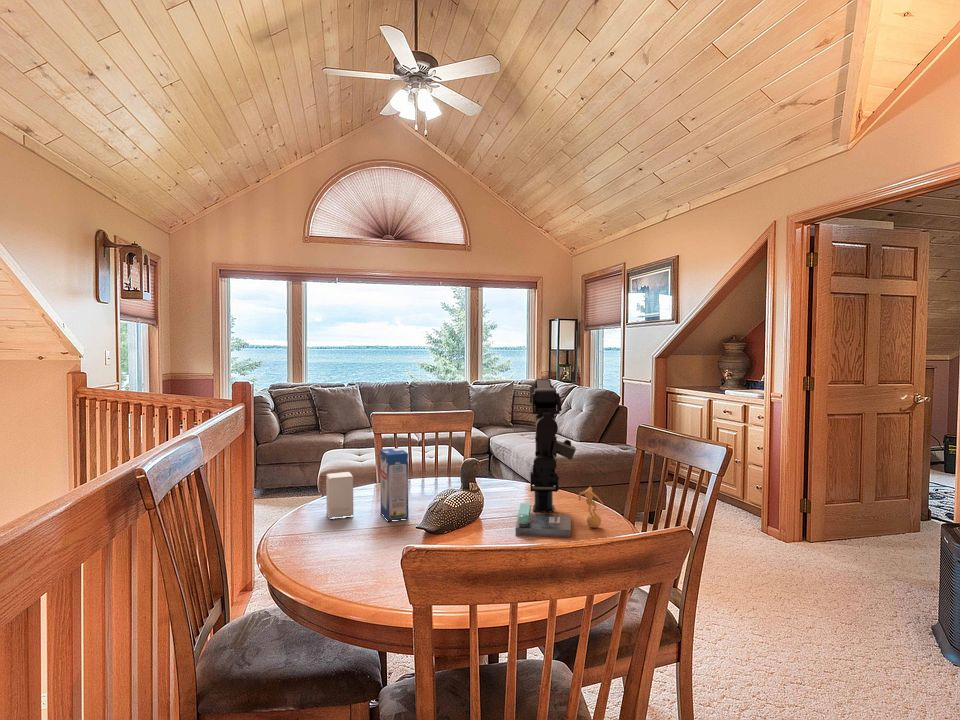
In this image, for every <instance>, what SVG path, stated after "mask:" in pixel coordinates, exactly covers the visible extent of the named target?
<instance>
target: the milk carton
mask: <svg viewBox="0 0 960 720" xmlns="http://www.w3.org/2000/svg"><path fill="white" fill-rule="evenodd" d="M379 459H380V460H379V465H380V466H379V468H380V469H379V471H380V472H379V475H380V476H379V479H380V481H379V482H380V484H379V485H380V488H379V490H380V495H379V497H380V500H379V501H380V514H381V513H382V514H383V515H384V517H385V518H386V519H387V520H388V521H392V520H401V519H409V453H408V452H406V451H405V450H403V449H402V448H400V447H397V448H383V449H379ZM382 514H381V515H382ZM384 517H383V518H384ZM385 518H384V519H385ZM386 519H385V520H386Z"/></svg>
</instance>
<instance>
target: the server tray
mask: <svg viewBox="0 0 960 720" xmlns="http://www.w3.org/2000/svg"><path fill="white" fill-rule="evenodd" d="M516 520H517V521H516V524H515V536H529V537H531V536H532V537H549V538H550V537H552V538H553V537H554V538H556V537H557V538H571V537H572V523H571V514H570V513H569V514H565V513H564V514H563V513H544V512H539V513H538V512H536V513H535V512H530V517H529V523H528V524H519V523H518V518H517V519H516Z"/></svg>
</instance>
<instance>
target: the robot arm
mask: <svg viewBox="0 0 960 720" xmlns="http://www.w3.org/2000/svg"><path fill="white" fill-rule="evenodd" d="M529 404H530V405H531V410H532V411H531V414H532V415H534V416H535V437H534V440H535V452H534V453H535V454H534V456H535V457H534V458H533V465H532V471H530V472H529V474H530V476H529V479H530V480H529V483H530V486H529V487H530V489H529V490H530V492H534V504H533V508H532V512H533V513H535V512H536V513H538V512H539V513H554V512H555V505H554V504H553V503H554V501H553V499H554V497H553V495H554V494H553V492H555V493H556V492H558V491H559V490H560V476H559V475H558V472H557V471H556V469H557V456H562V457H563V458H567V459H568V460H570V461H572V460H573V459H574V456H575V453H576V451H577V450H576V447H575V446H574V445H572V442H571V440H569V439H565V440H564V441H559V440H557V439H558V438H557V433H558V430H559V427H558V423H557V421H556V416H555V415H561V412H562V397H561V396H560V393H559V392H557V389H556V388H555V386H553V384H552V382H551V379H550V378H537V379H534V383H533V384H532V385H531V386H530V387H529Z"/></svg>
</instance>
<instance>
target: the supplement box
mask: <svg viewBox="0 0 960 720" xmlns="http://www.w3.org/2000/svg"><path fill="white" fill-rule="evenodd" d="M325 482H326V486H325V488H326V515H327V514H328V515H327V517H328V516H329V518H332V517H343V516H351V515H353V516H354V476H353V474H352V473H351V472H350V471H344V472H343V471H342V472H334V473H333V472H331V473H326V479H325ZM329 518H328V519H329Z"/></svg>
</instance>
